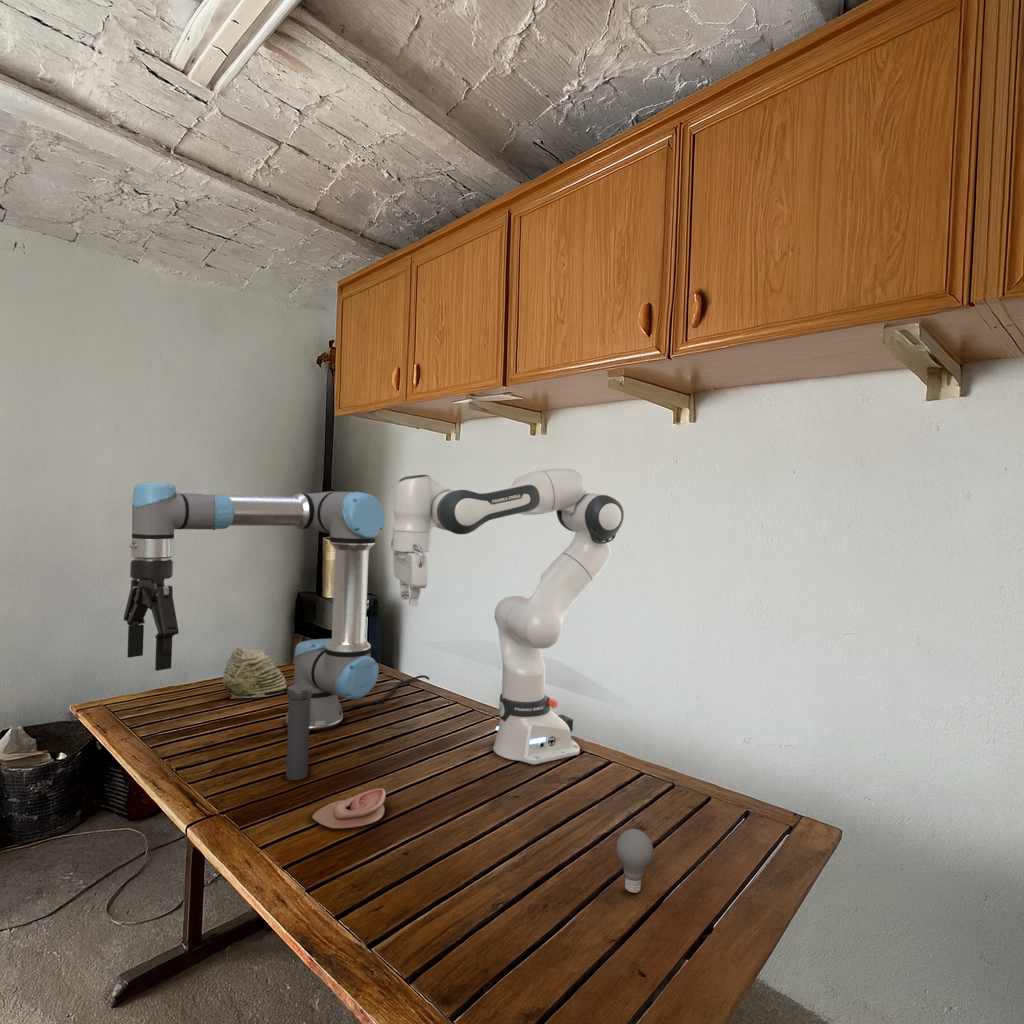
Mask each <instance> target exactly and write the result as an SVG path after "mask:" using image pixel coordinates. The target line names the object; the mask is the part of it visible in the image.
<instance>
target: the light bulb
mask: <svg viewBox="0 0 1024 1024" xmlns="http://www.w3.org/2000/svg"><path fill="white" fill-rule="evenodd" d="M615 849H616V854H617V857H618V859H619V861H620V863H621V865H622V867H623V873H624V874H623V875H624V876H625V878H624V888H625V890H627V891H628V892H630V893H634V894H635V893H639V892H640V891H641V889H642V887H641V886H642V879H643V877H644V875H645V871H646V868H647V867H648V866H649V864H650V863H651V861H652V859H653V855H654V847H653V843H652V841H651V838H649V836H648V835H647V834H646V833H645V832H643V831H642V830H641V829H636V828H629V829H627V830H625V831H623V832H622V833H621V834H620V835H619V837H618V839H617V841H616V847H615Z"/></svg>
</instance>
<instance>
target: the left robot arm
mask: <svg viewBox="0 0 1024 1024" xmlns="http://www.w3.org/2000/svg"><path fill="white" fill-rule="evenodd" d="M385 515H386V513H385V511H384V508H383V505H382V503H381V502H380V501H379V500H378V498H377V497H375V495H373V494H370V493H367V492H363V491H362V492H361V491H337V490H336V491H335V490H333V491H332V490H330V491H321V492H311V493H295V494H294V495H293V496H276V495H275V496H274V495H273V496H272V495H248V494H247V495H246V494H244V495H243V494H220V493H219V494H218V493H217V494H216V493H215V494H214V493H189V492H187V493H186V492H177V491H176V486H175V485H174V484H173V483H152V482H139V483H137V484H136V485H135V486H134V488H133V492H132V501H131V520H132V521H131V542H130V543H128V547H129V548H130V549H131V550H130V556H131V558H133V559H132V560H131V561H130V567H129V568H130V571H129V574H130V575H129V576H130V578H131V581H130V590H129V594H128V598H127V603H126V607H125V610H124V615H123V621H124V622H126V624H127V626H128V629H127V630H128V631H127V658H135V657H142V656H144V635H145V634H144V630H145V625H144V624H145V623H146V621H145V619H144V618H145V616H146V615H147V612H148V609H149V610H151V613H152V618H153V620H154V624H155V627H156V631H157V633H156V635H155V636H154V638H155V661H154V663H155V665H154V668H155V669H154V670H155V671H157V672H159V671H164V670H169V669H172V659H173V657H172V655H173V637H175V636H176V635H179V632H180V631H179V625H178V619H177V615H176V614H177V613H176V609H175V603H174V597H173V595H174V593H173V585H165V580H167V579H171V578H172V577H173V575H174V573H173V572H174V561H173V560H172V559H171V558H173V557H174V554H175V553H174V552H175V530H213V531H215V530H224V529H228V528H230V526H233V527H234V526H237V527H238V526H240V527H243V526H246V527H247V526H249V527H250V526H258V527H259V526H268V527H269V526H276V527H277V526H282V527H284V526H285V527H286V526H287V527H288V526H289V527H290V526H291V527H293V528H294V529H296V530H308V531H309V530H310V531H316V532H319V533H325V534H329V544H330V545H331V546H332V547H333V548H334V550H335V551H334V572H333V573H334V577H333V599H332V625H331V626H332V627H331V638H317V639H308V640H304V641H300V642H299V643H297V645H296V646H295V650H294V655H293V657H294V672H293V673H294V674H293V685H295V684H309V685H311V686H312V696H311V699H310V725H309V733H316V732H325V731H329V730H332V729H335V728H337V727H339V726H340V725H342V723H343V722H344V714H343V710H346V709H352V708H357V707H363V706H369V705H374V704H378V703H380V702H383V701H385V700H387V699H388V698H389V697H390V696H391V695H393V693H395V690H397V689H398V688H399V687H400V686H402V685H404V684H408V683H410V682H413V681H416V680H418V679H422V678H424V679H426V680H430V677H429V676H427V675H423V674H421V675H417V676H414V677H412V678H409V679H406V680H403V681H401V682H399V683H397V684H396V685H395V686H394V687H393V688H392V689H391V690H390V692H389V693H388V694H386V695H385V696H383V697H381V698H379V699H375V700H372V701H366V702H360V703H355V704H348V705H343V706H341V702H340V699H339V698H341V699H342V700H343V699H344V700H348V701H349V700H350V701H357V700H360V699H362V698H364V697H365V696H367V695H368V694H370V692H371V690H372V689H374V687H375V685H376V683H377V682H378V678H379V674H380V672H379V671H380V670H379V669H380V668H379V665H378V663H377V662H376V660H375V659H374V657H371V652H372V649H371V648H372V644H371V643H370V642H368V640H367V639H366V631H367V607H368V606H367V605H368V604H367V602H368V582H369V581H368V579H369V555H370V553H369V552H370V550H371V548H372V547H374V545H375V544H376V536H378V535H379V534H380V533H381V530H383V528H384V526H385V522H386V521H385V520H386V516H385ZM285 726H286V728H288V712H287V713H286V715H285Z"/></svg>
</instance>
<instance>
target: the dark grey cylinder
mask: <svg viewBox="0 0 1024 1024" xmlns="http://www.w3.org/2000/svg"><path fill="white" fill-rule="evenodd" d="M310 699H311V697H310V698H307V699H303V700H293V699H289V698H288V709H287V713H288V727H287V734H286V760H285V761H286V762H285V764H286V765H285V778H286V779H287V780H289V781H300V780H303V779H306V778H307V777H308V775H309V750H310V748H309V747H310V732H309V725H310Z"/></svg>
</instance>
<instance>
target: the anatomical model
mask: <svg viewBox="0 0 1024 1024" xmlns="http://www.w3.org/2000/svg"><path fill="white" fill-rule="evenodd" d="M386 794H387V793H386V790H385V788H381V787H380V788H374V789H370V790H367V791H364V792H360V793H358V794H355V795H353V796H351V797H348V798H346V799H342V800H337V801H333V802H331V803H327V804H326V805H324V806H322V807H320V808H318V810H316V811H314V813H312V816H311V818H312V820H313V821H315V823H318V824H319V825H322V826H323V827H326V828H329V829H348V828H350V829H351V828H358V827H363V826H367V825H370V824H373V823H375V822H377V821H379V820H381V819H382V818H383V817H384V815H385V805H384V803H385V802H386V801H385V800H386V796H387V795H386Z"/></svg>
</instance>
